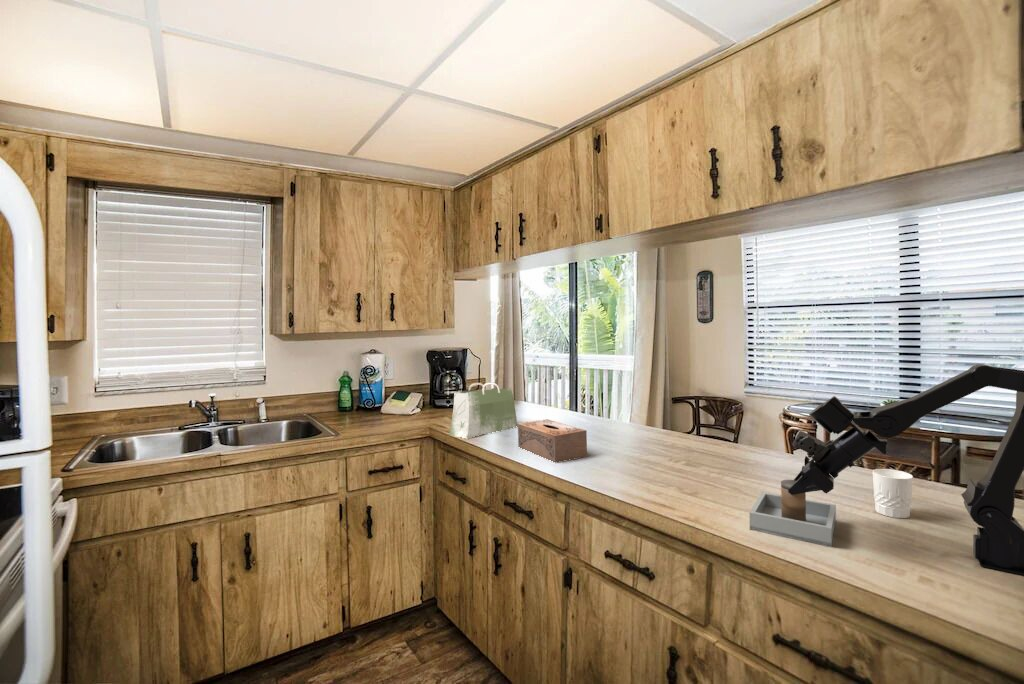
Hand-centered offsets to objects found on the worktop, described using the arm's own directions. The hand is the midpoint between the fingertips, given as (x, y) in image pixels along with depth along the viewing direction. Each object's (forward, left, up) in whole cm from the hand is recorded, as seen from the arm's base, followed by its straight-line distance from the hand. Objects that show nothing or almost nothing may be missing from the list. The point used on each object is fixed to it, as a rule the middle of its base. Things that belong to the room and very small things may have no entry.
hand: (790, 489), depth 113 cm
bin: (-1, 0, -9) cm, 9 cm away
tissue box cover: (+83, -25, -9) cm, 88 cm away
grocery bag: (+130, -39, -9) cm, 136 cm away
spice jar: (-1, 0, -7) cm, 7 cm away
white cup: (-20, -21, -9) cm, 30 cm away
